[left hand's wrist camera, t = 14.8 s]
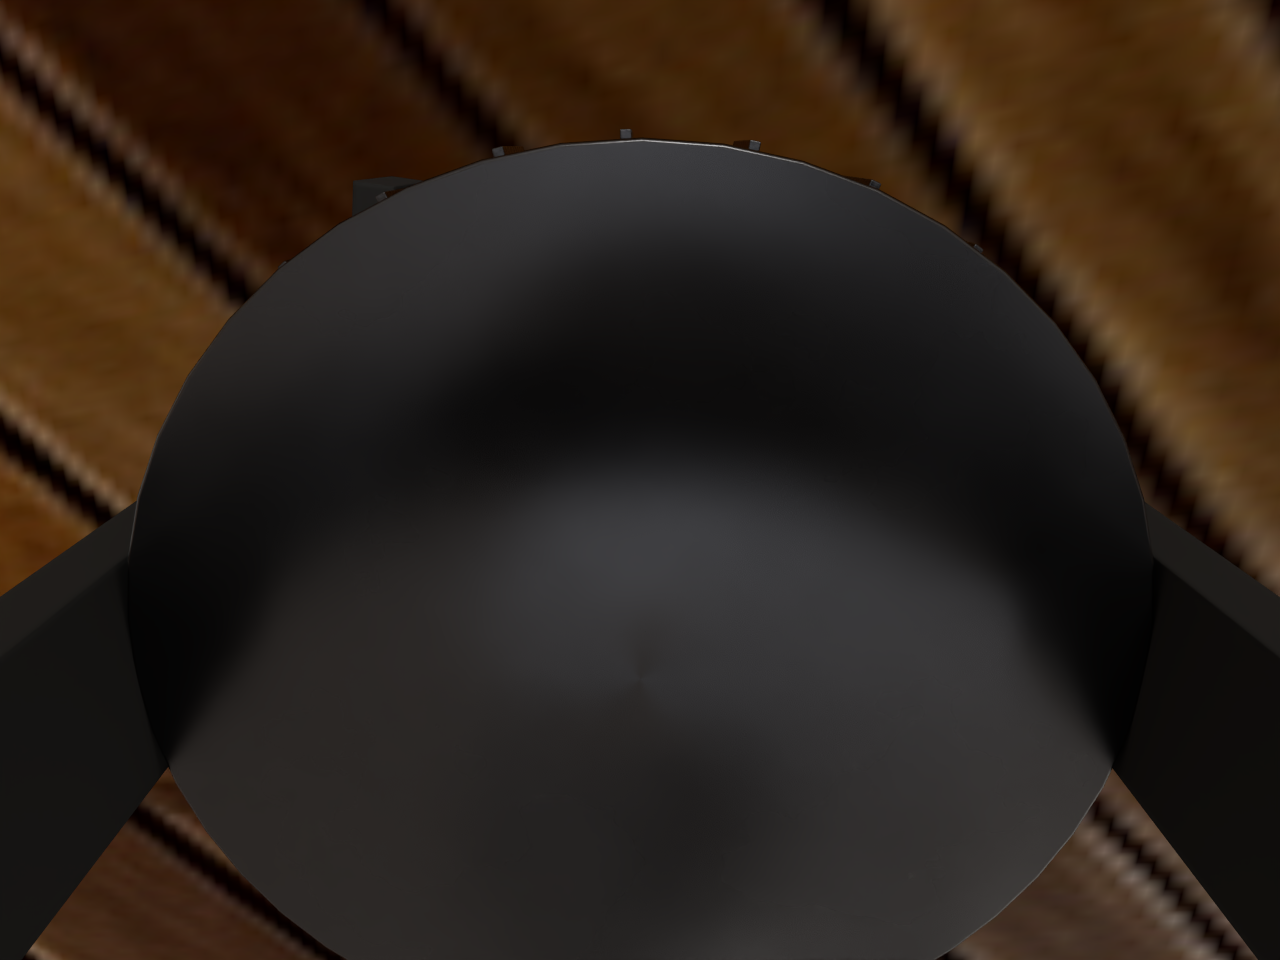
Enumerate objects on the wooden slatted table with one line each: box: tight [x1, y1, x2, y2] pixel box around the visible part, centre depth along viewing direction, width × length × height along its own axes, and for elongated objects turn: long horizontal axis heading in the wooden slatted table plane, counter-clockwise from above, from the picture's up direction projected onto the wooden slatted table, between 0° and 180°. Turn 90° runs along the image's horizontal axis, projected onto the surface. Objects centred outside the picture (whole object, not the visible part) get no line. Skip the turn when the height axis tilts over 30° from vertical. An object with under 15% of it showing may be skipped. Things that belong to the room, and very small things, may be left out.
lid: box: [128, 129, 1154, 960], centre depth 11 cm, size 11×11×2 cm
